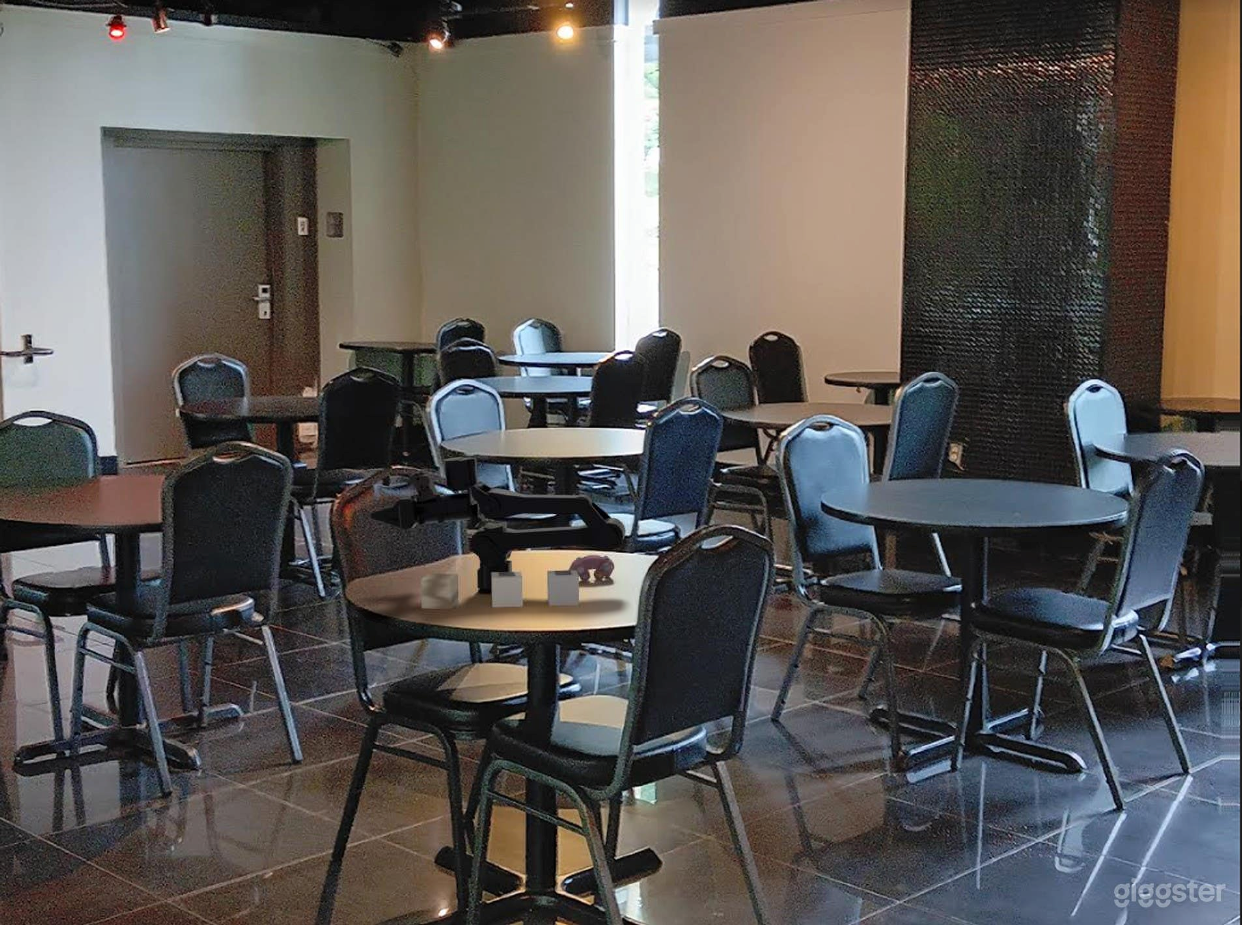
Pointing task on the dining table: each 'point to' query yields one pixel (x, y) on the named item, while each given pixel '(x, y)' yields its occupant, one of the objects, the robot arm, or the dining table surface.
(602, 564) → the video game controller
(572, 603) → the grey numbered cube
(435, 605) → the plain ash cube
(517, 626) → the dining table surface
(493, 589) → the off-white numbered cube
